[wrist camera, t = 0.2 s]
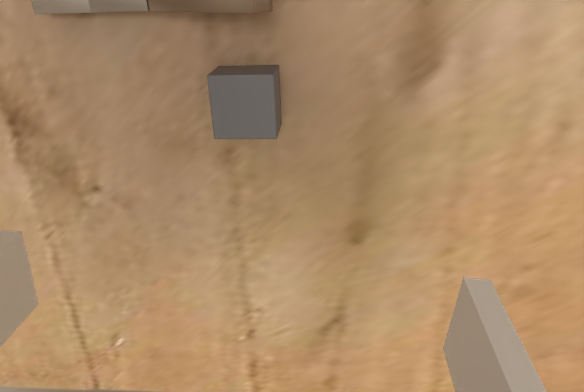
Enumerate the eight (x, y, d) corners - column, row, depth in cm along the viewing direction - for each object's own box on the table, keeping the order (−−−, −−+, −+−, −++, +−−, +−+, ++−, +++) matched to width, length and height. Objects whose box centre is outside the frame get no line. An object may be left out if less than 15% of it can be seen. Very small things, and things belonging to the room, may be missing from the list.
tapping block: (219, 65, 38) (207, 75, 35) (279, 64, 38) (273, 74, 34) (224, 124, 40) (214, 139, 37) (281, 123, 40) (276, 138, 36)
